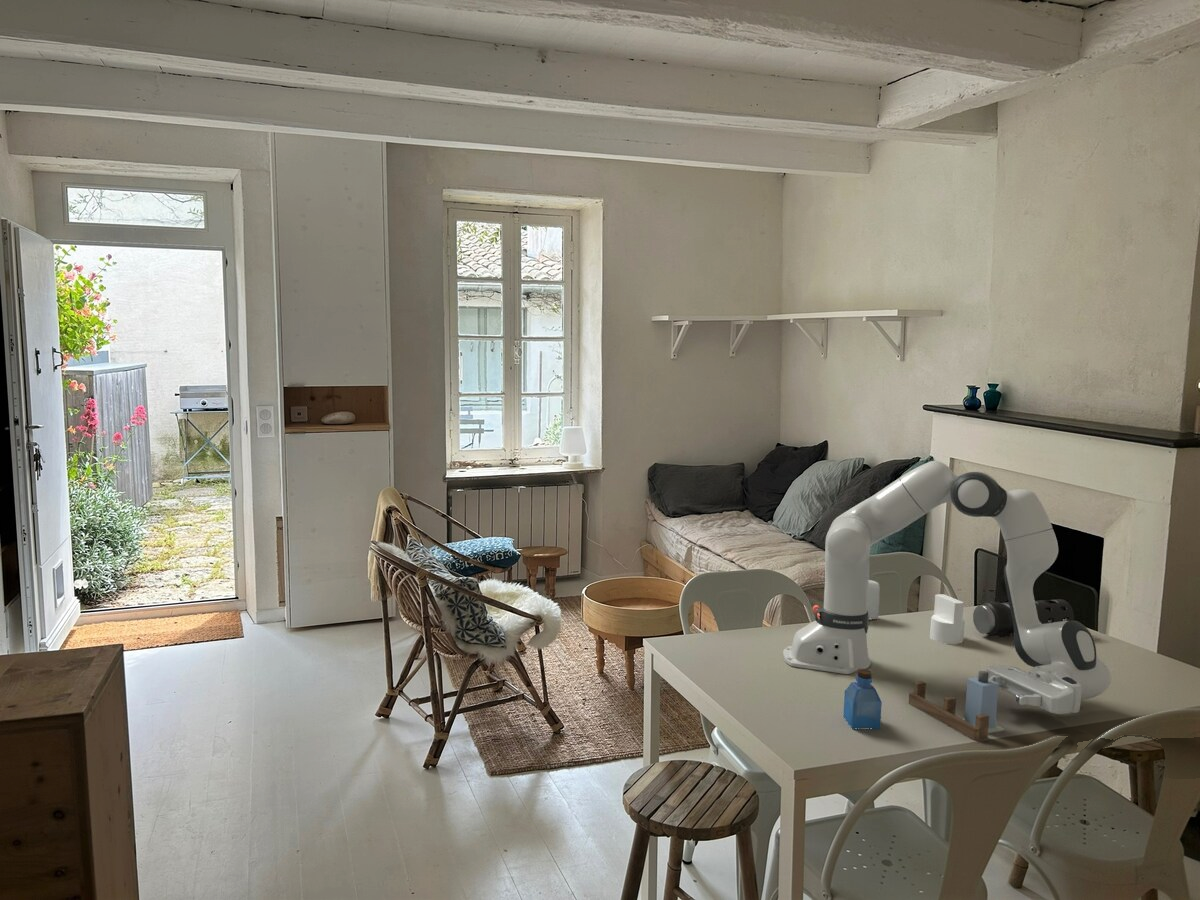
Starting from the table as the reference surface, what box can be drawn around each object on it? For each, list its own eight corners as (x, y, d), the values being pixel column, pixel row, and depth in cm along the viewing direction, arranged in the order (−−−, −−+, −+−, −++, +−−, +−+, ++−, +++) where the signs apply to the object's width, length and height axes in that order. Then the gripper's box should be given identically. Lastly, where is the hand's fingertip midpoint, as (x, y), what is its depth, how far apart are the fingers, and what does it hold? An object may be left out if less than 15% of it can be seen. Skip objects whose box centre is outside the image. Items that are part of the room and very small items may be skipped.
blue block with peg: (979, 730, 193) (983, 677, 192) (964, 721, 197) (968, 670, 196) (995, 727, 195) (999, 674, 193) (979, 719, 199) (983, 667, 198)
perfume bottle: (870, 717, 199) (873, 666, 198) (880, 729, 193) (883, 676, 192) (843, 717, 199) (846, 666, 198) (852, 729, 193) (855, 676, 192)
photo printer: (847, 621, 270) (850, 581, 268) (842, 617, 274) (844, 578, 272) (880, 621, 271) (882, 581, 269) (874, 616, 275) (877, 578, 273)
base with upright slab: (923, 635, 258) (925, 595, 256) (949, 633, 261) (951, 593, 259) (943, 645, 249) (946, 604, 248) (970, 642, 252) (973, 602, 251)
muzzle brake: (1073, 637, 259) (1076, 603, 258) (991, 643, 252) (993, 608, 251) (1049, 627, 268) (1052, 594, 267) (969, 632, 261) (972, 598, 260)
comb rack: (974, 740, 189) (975, 718, 188) (908, 703, 208) (909, 682, 207) (1010, 733, 192) (1012, 711, 192) (943, 697, 211) (944, 677, 211)
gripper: (1013, 656, 211) (967, 662, 206) (1087, 687, 192) (1039, 695, 187) (1011, 681, 212) (966, 688, 207) (1085, 715, 193) (1037, 723, 188)
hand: (1001, 692), depth 197 cm, fingers open, 8 cm apart
